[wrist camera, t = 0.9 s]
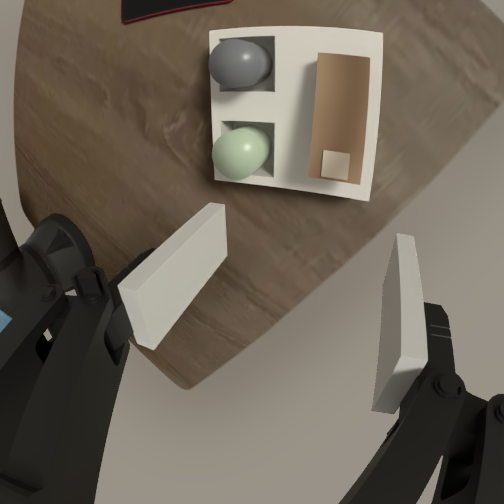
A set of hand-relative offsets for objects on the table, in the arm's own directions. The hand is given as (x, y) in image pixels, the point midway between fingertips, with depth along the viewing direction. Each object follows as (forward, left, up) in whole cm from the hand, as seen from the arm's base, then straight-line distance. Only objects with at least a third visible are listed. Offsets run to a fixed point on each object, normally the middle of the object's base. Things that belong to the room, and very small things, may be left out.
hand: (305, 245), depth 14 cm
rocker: (0, +4, -13) cm, 13 cm away
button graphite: (-9, +8, -16) cm, 20 cm away
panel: (-5, +4, -19) cm, 20 cm away
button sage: (-9, 0, -16) cm, 18 cm away
